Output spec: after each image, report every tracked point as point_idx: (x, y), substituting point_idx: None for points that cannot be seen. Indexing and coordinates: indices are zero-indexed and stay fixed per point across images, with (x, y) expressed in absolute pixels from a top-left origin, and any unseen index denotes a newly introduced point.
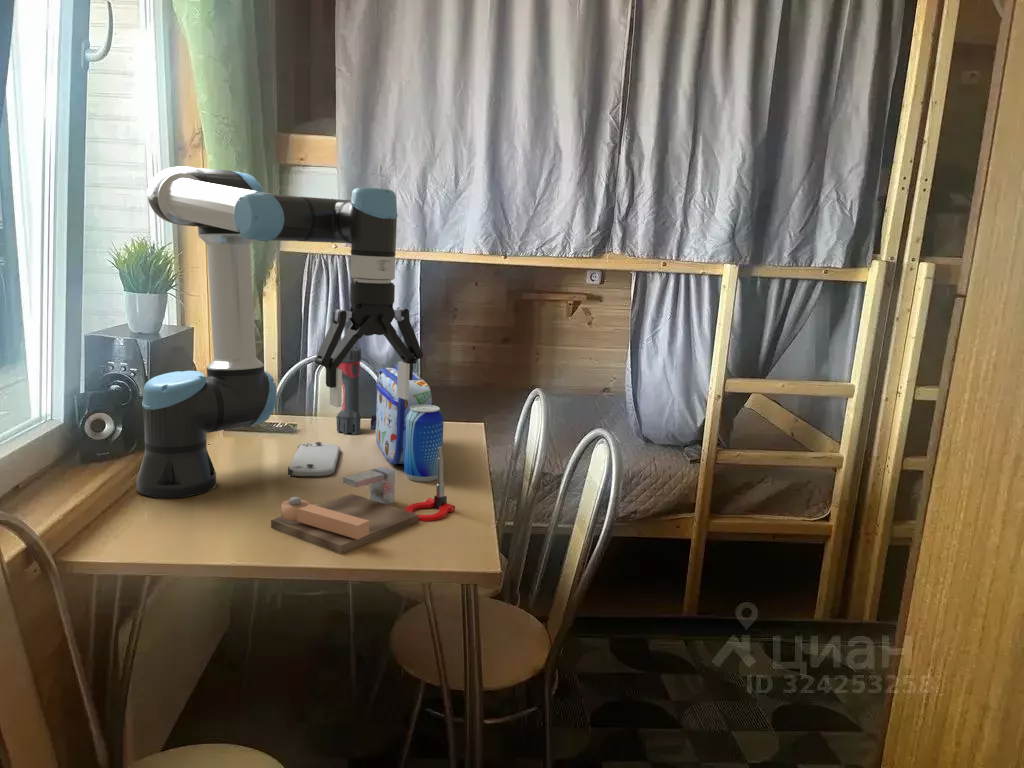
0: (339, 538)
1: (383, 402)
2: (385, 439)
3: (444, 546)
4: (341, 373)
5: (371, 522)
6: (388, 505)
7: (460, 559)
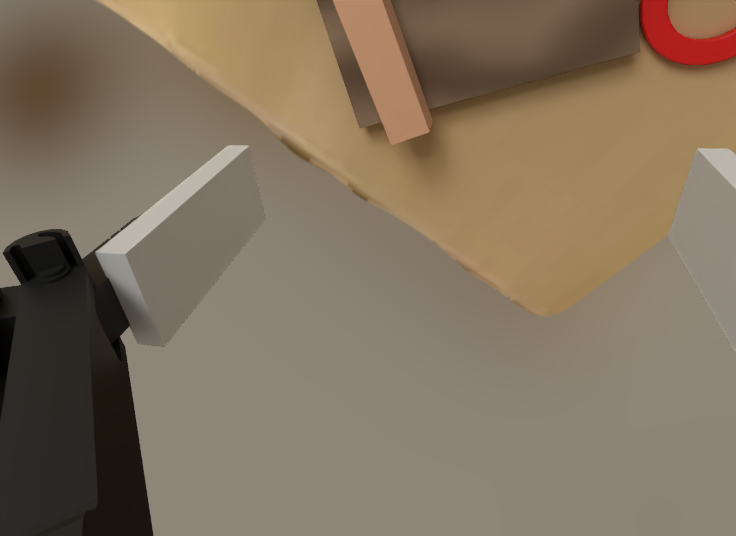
0: None
1: None
2: None
3: (562, 206)
4: (177, 326)
5: (492, 35)
6: None
7: (539, 265)
